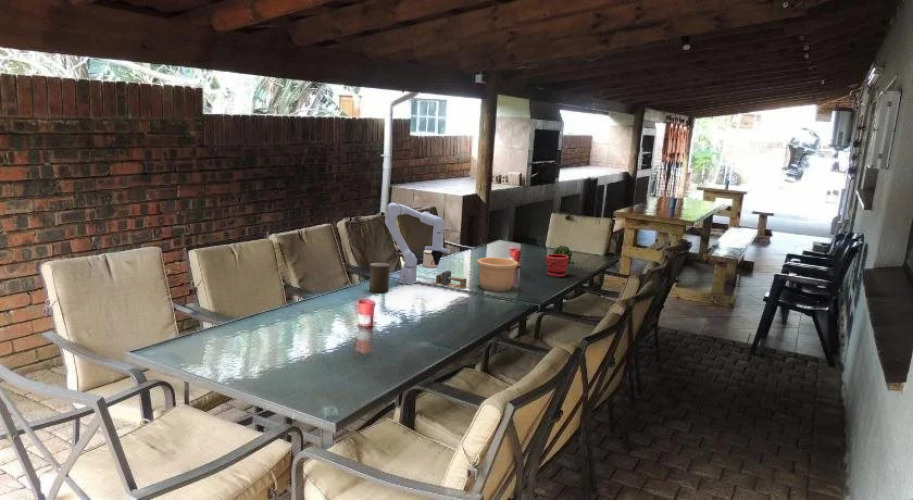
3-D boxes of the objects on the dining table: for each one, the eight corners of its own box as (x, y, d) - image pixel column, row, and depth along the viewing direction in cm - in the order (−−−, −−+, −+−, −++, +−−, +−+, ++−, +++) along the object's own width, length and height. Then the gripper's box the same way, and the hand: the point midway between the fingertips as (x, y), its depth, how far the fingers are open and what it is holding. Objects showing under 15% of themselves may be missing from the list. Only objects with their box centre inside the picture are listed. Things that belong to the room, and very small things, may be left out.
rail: (467, 286, 349) (468, 278, 348) (462, 289, 344) (462, 280, 343) (439, 282, 357) (440, 273, 356) (434, 284, 351) (434, 275, 351)
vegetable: (550, 261, 421) (548, 247, 433) (561, 273, 426) (559, 259, 438) (566, 252, 416) (564, 238, 428) (577, 265, 421) (575, 251, 433)
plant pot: (566, 273, 396) (567, 254, 394) (567, 278, 383) (569, 258, 381) (544, 272, 397) (546, 252, 395) (545, 276, 384) (546, 256, 382)
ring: (450, 282, 354) (451, 271, 353) (445, 284, 348) (445, 273, 347) (446, 281, 355) (447, 270, 354) (441, 284, 349) (441, 272, 348)
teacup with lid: (432, 268, 390) (433, 249, 388) (419, 266, 394) (420, 247, 392) (442, 265, 401) (443, 246, 398) (430, 263, 405) (431, 244, 403)
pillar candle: (385, 294, 325) (386, 264, 322) (366, 292, 327) (367, 262, 324) (391, 289, 334) (392, 261, 332) (372, 287, 336) (374, 259, 334)
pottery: (468, 288, 347) (470, 261, 344) (486, 280, 366) (487, 255, 363) (506, 294, 337) (507, 267, 334) (522, 286, 356) (524, 261, 354)
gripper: (453, 240, 351) (451, 265, 354) (429, 237, 358) (428, 261, 360) (447, 242, 345) (445, 267, 348) (423, 238, 351) (422, 263, 354)
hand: (436, 264), depth 353 cm, fingers closed
